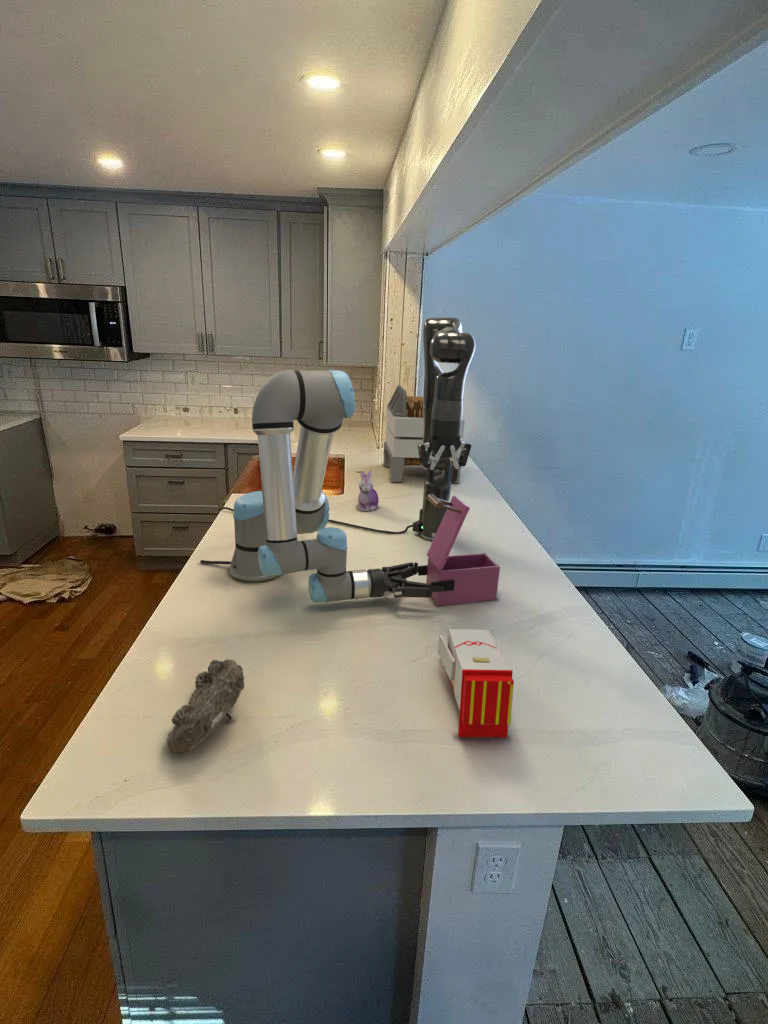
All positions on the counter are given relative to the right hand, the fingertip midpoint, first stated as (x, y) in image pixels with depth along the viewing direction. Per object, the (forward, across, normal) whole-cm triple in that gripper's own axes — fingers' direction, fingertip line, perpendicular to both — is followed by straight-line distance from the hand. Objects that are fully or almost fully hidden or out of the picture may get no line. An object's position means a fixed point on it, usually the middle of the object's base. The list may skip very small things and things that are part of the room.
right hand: (441, 482), depth 146 cm
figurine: (+33, 0, +74) cm, 82 cm away
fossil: (+33, -58, -37) cm, 77 cm away
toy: (+33, -6, -41) cm, 53 cm away
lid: (+14, +3, 0) cm, 15 cm away
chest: (+33, +8, 0) cm, 34 cm away
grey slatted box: (+33, +36, +120) cm, 130 cm away
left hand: (+27, +4, 0) cm, 28 cm away
